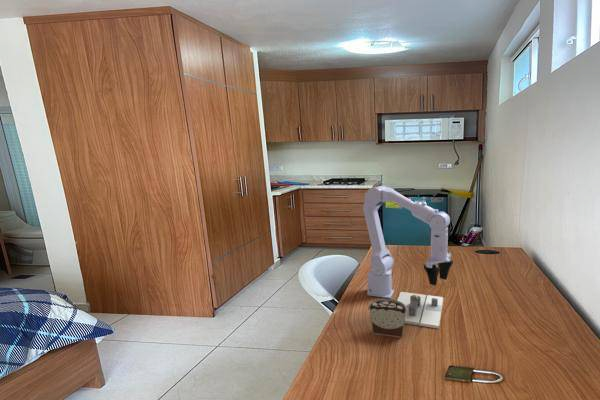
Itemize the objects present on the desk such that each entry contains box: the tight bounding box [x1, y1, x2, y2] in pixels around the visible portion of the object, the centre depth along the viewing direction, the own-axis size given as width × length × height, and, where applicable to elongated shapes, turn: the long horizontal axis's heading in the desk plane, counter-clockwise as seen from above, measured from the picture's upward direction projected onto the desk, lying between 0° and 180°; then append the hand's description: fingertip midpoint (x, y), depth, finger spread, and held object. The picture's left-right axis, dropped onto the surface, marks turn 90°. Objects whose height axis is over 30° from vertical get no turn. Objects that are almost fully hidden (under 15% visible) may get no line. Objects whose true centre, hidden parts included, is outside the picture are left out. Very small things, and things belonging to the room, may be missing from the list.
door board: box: [396, 291, 444, 330], centre depth 132 cm, size 16×24×3 cm, turn 156°
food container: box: [367, 298, 408, 339], centre depth 117 cm, size 12×6×10 cm, turn 71°
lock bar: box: [409, 295, 421, 315], centre depth 130 cm, size 11×4×3 cm, turn 156°
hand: (438, 281), depth 132 cm, fingers open, 7 cm apart
